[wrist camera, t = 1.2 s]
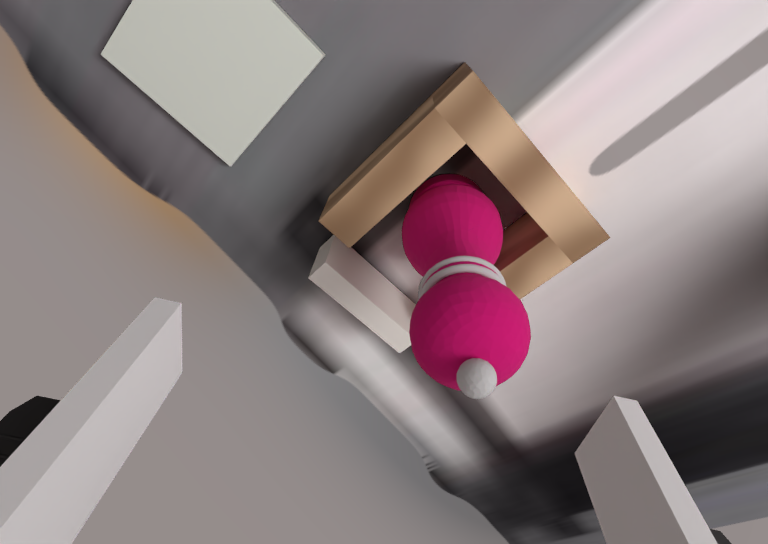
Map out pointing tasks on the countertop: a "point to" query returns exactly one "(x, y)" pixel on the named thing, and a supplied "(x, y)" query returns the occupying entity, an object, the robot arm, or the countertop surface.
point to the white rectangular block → (363, 292)
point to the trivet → (214, 64)
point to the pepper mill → (462, 289)
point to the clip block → (503, 158)
